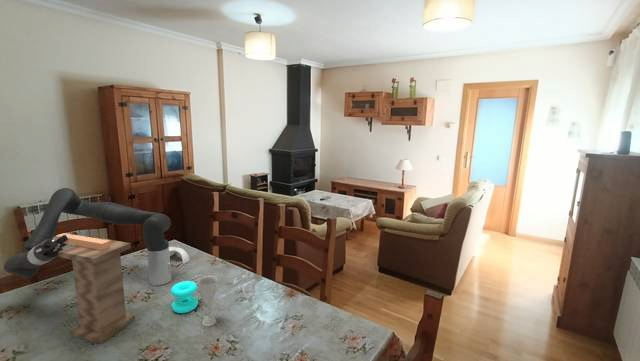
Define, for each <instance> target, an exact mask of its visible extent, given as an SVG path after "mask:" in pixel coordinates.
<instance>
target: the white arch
mask: <svg viewBox="0 0 640 361" xmlns="http://www.w3.org/2000/svg"><path fill="white" fill-rule="evenodd" d="M175 253H178V254H180V257H181V259H182V260H181V261H182V265H186V264H187V263H189V262H190V261H191V259H190V256H189V254H188V253H187V251H185V250H184V249H183V248H182V247H174V246H169V257H170V258H171V257H172V256H174V254H175Z"/></svg>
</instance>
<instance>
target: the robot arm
mask: <svg viewBox="0 0 640 361" xmlns="http://www.w3.org/2000/svg"><path fill="white" fill-rule="evenodd" d="M62 213H64V214H66V215H67V214H68V215H73V216H75V215H76V216H82V217H87V218H91V219H94V220H99V221H102V222H105V223H109V224H113V225H123V226H124V225H127V226H128V225H130V226H131V225H135V226H137V225H138V226H142V232H143V234H142V235H143V240H144V241H143V242H144V245H145V246H146V252H147V264H148V280H149V284H150V286H154V287H156V286H164V285H165V284H168V283H169V282H172V281H173V280H172V265H171V264H172V263H171V261H170V260H171V259H170V258H171V257H169V247H170V244H169V240H168V239H165V233H164V232H166V231H168V230H169V228H170V227H171V226H172V223H171V219H170V218H169V216H168V215H166V214H164V213H160V212H156V211H155V212H152V211H148V210H147V211H146V210H142V209H138V208H134V207H130V206H125V205H123V204H119V203H115V202H110V201H103V202H91V201H88V200H85V199H82V198H80V196H79V195H78V194H77V193H76V192H75V191H74V189H71V188H70V187H69V188H68V187H62V188H60V189H57V190H56V191H55V192H53V194H52V195H51V197H50V199H49V201H48V203H47V206H46V208H45V210H44V212H43V214H42V217H41V218H40V220H39V222H38V224H37V225H36V227H35V228H34V231H33V232H32V233H31V235H30V236H29V237H28V238H27V239H28V240H27V241H26V242H25V243H24V245H23V250H24V251H25V252H21V253H20V252H19V253H16V254H14V255H12V256H10V257H9V258H8V259H7V260H6V261H5V262H4V264H3V270H4V271H5V272H6V273H9V274H12V275H14V276H15V275H16V276H19V277H22V278H32V277H33V276H35V275H36V274H38V272H39V270H40V267H42V266H43V265H44V264H47V263H49V262H50V261H53V259H56V258H58V257H59V254H58V252H59V251H61V250H64V249H66V247H67V246H69V244H64V242H65V241H67V240H68V238H67V236H66V235H63V236H61V237H60V238H58V239H56V238H54V236H55V234H56V229H57V225H58V222H59V219H60V216H61V214H62ZM70 234H72V235H79V234H78V232H77V231H74V232H71V233H70Z"/></svg>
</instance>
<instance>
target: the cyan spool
mask: <svg viewBox="0 0 640 361" xmlns="http://www.w3.org/2000/svg"><path fill="white" fill-rule="evenodd" d="M197 290H198V285H197V283H196V282H194V281H192V280H184V281H180V282H178V283H175V284H174V285H173V286H172V287H171V290H170V294H171V295H172V296H173V297H174V298H177V299H175V300H174V301H173V303H172V305H171V309H172V311H173V312H174V313H177V314H186V313H189V312H192V311H194V310H195V309H196V308H197V306H198V304H199V300H198V299H197V297H195V296H193V294H195V293H196V292H197Z"/></svg>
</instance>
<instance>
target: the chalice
mask: <svg viewBox="0 0 640 361" xmlns="http://www.w3.org/2000/svg"><path fill="white" fill-rule="evenodd" d="M217 281H218V277H217V276H215V275H210V274H209V275H203V276H201V277H199V278H198V279H197V283H198V285H199V286H198V289H199V294H200V296H201V298H202V301H203V302H204V303H205V304H206V308H207V310H206V313H207V315H205V316H204V318H203V320H202V325H203V326H205V327H211V326H214V325H215V324H216V323H217V320H216V317H215V316H214V315H213V314H211V312H212V310H211V306H212V305H211V303H212V302H213V300H214V298H215V296H216V294H217Z"/></svg>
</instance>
